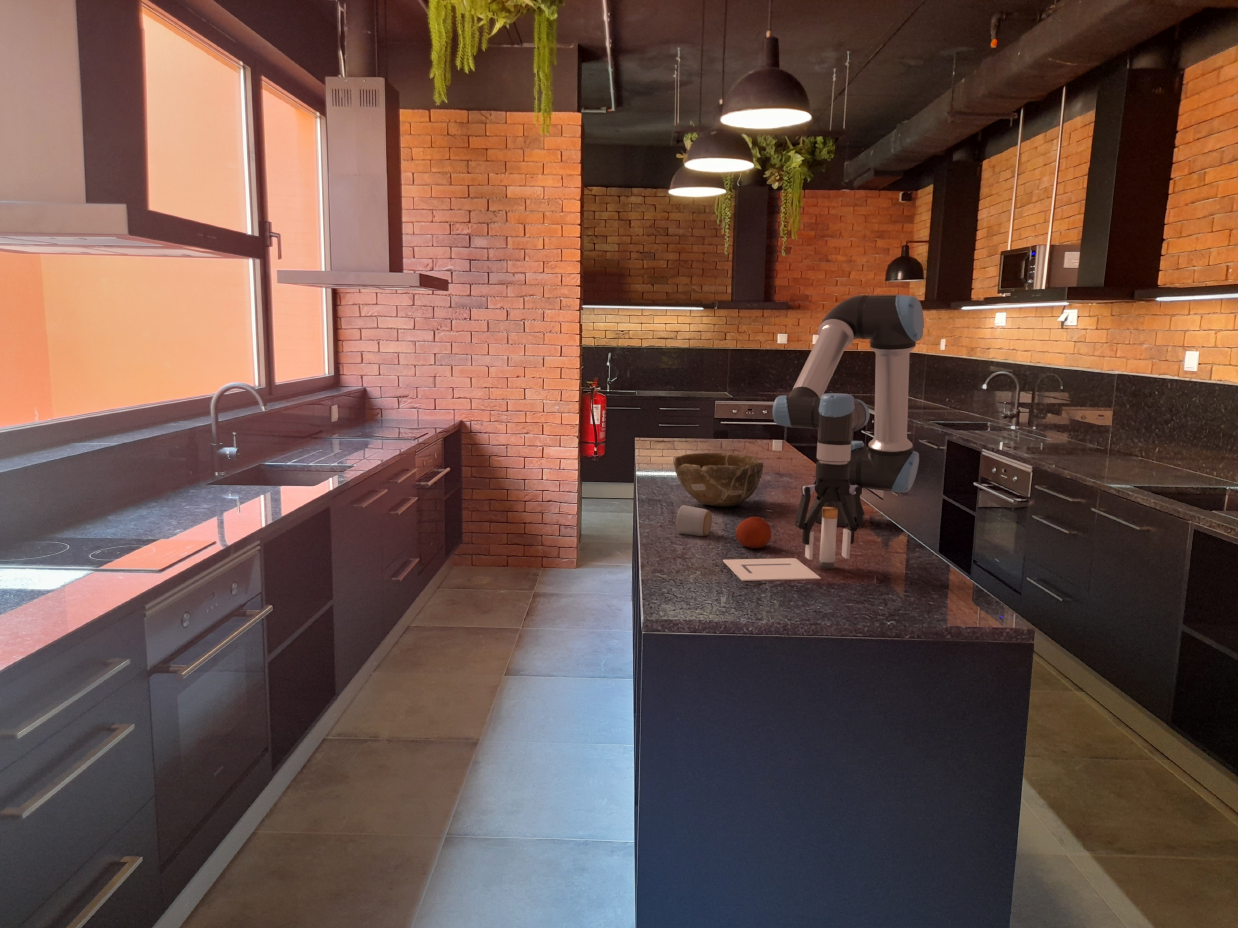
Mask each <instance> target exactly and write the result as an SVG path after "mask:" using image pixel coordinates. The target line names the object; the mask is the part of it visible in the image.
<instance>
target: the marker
mask: <svg viewBox="0 0 1238 928" xmlns="http://www.w3.org/2000/svg"><path fill="white" fill-rule="evenodd" d="M837 518H838V509H837V508H834V507H823V508H822V524H821V526H820V527H821V528H820V530H821V531H820V546H819V561H818V567H819V569H822V570H823V569H824V570H834V569H835V561H836V560H835V559H836V558H835V556H836V542H837V529H838V528H837V527H838V526H837Z"/></svg>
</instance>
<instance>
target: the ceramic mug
mask: <svg viewBox="0 0 1238 928" xmlns="http://www.w3.org/2000/svg"><path fill="white" fill-rule="evenodd" d="M675 524H676V532H677V533H678V534H680V535H687V536H697V537H706V536H708V535H709V534H710V533H711V529H712V524H713V513H712V512H711V511H710V510H708V509H705V508H700V507H695V506H691V505H690V506H689V505H686V504H685V505H684V504H682V505H681V506H680V508H679V509H678V512H677V515H676V523H675Z"/></svg>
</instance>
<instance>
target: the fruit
mask: <svg viewBox="0 0 1238 928" xmlns="http://www.w3.org/2000/svg"><path fill="white" fill-rule="evenodd" d="M735 537H736V539H737V541H738V542H739V543H740V544H741V545H742V546H743V547H746V548H751V549H761V548H763V547H765V546H767V545H768V543H770V541H771V539H772V528H771V526H770V524H769V522H768V521H766V520H765V519H763V518H762V517H761V516H756V515H755V516H750V517H747V518H746V519H745V518H744V520H742V521H741V522H739V524H738V525H737V527H736V531H735Z"/></svg>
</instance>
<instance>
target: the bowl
mask: <svg viewBox="0 0 1238 928" xmlns="http://www.w3.org/2000/svg"><path fill="white" fill-rule="evenodd" d="M673 467H674V472H675V475H676V476H677V479H678V481H679V483H680V485H681V486H682V487H683V488H684V489H685V491H686V492H687V493H688V494H689V495H690V496H691V497H692V498H693V499H695V500H696V501H697V502H699V503H700V504H702V505H704V506H705V505H707V506H712V507H727V508H728V507H733V506H738V505H739V504H741V503H743V502H745V501H746V500H747V499H748V498H750V497H751V496H752V495H753V494H754V493H755V492H756V489H757V488H758V485H759V484H760V480H761V478H762V476H763V472H764V471H763V470H764V462H762V460H760V459H758V458H756V457H754V456H753V455H747V454H744V455H743V454H739V453H732V452H731V453H729V452H728V453H725V452H698V453H695V452H694V453H686V454H681V455H679V456H675V457H674V458H673Z"/></svg>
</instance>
